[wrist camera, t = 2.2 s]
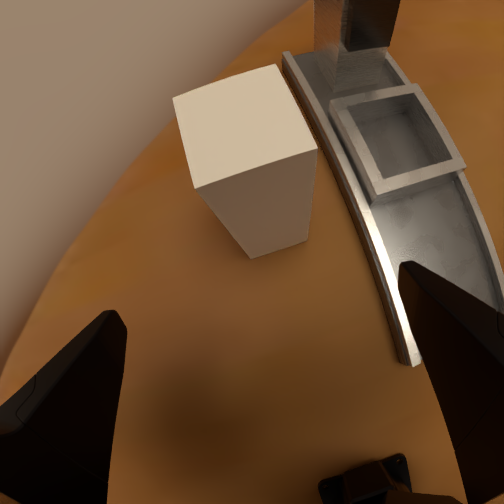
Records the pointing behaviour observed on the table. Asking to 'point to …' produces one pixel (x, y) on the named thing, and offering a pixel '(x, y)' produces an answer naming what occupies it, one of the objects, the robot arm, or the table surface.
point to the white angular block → (251, 158)
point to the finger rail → (391, 160)
